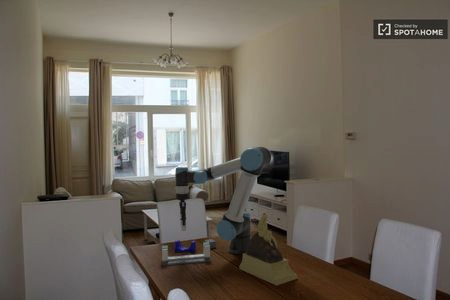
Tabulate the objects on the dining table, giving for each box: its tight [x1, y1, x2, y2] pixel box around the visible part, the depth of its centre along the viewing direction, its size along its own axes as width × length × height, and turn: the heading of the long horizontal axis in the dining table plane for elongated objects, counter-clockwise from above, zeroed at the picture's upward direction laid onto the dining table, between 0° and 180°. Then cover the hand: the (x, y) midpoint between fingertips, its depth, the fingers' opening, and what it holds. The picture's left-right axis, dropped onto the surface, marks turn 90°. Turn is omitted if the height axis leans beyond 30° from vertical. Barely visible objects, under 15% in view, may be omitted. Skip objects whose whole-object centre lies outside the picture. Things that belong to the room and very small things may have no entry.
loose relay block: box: [204, 238, 217, 249], centre depth 238 cm, size 5×6×4 cm
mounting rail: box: [162, 253, 212, 267], centre depth 214 cm, size 26×12×2 cm, turn 99°
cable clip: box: [173, 239, 197, 253], centre depth 232 cm, size 12×4×6 cm, turn 71°
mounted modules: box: [161, 242, 211, 262], centre depth 214 cm, size 26×7×6 cm, turn 99°
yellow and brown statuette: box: [239, 213, 298, 286], centre depth 189 cm, size 28×13×30 cm, turn 34°
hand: (183, 228), depth 231 cm, fingers open, 13 cm apart
